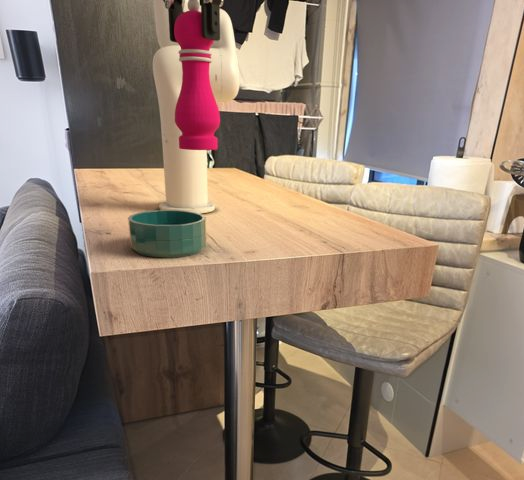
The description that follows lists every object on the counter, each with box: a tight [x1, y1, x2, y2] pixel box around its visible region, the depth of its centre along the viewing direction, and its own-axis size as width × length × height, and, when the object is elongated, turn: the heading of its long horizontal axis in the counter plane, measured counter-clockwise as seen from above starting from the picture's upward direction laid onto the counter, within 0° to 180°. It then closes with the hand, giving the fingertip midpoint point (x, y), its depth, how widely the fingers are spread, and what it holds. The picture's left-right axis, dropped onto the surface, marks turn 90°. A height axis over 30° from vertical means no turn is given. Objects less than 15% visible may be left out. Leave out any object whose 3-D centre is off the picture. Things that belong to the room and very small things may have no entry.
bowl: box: [127, 209, 208, 259], centre depth 74 cm, size 12×12×5 cm
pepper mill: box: [174, 0, 221, 151], centre depth 70 cm, size 7×7×20 cm
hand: (194, 39), depth 68 cm, fingers closed on pepper mill, 6 cm apart
